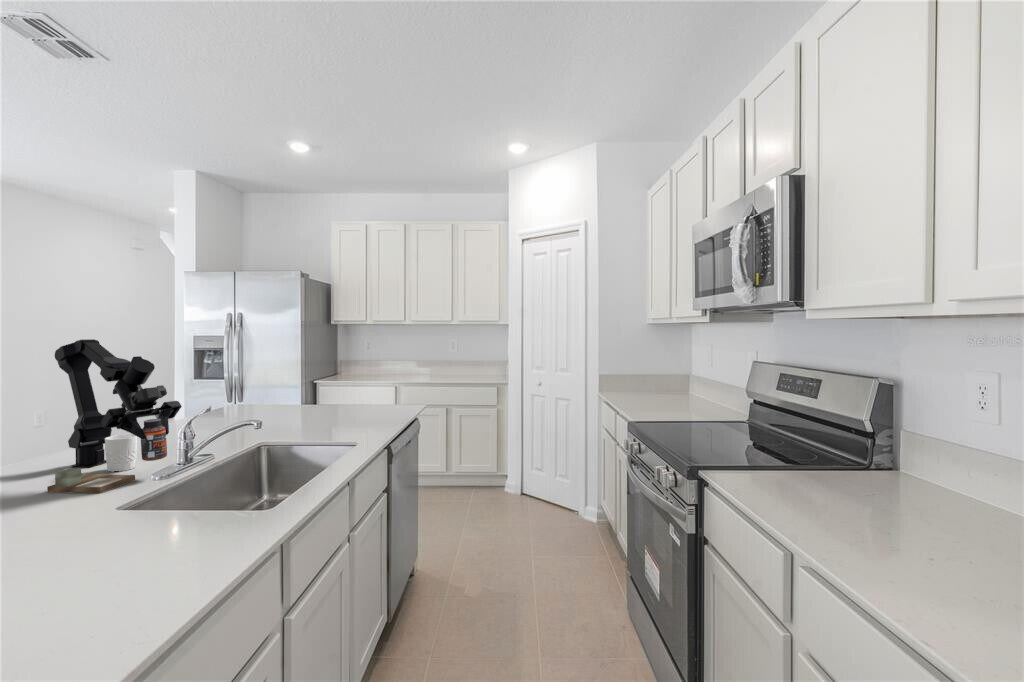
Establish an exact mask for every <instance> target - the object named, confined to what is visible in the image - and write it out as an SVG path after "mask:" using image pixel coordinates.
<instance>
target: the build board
mask: <svg viewBox="0 0 1024 682" xmlns="http://www.w3.org/2000/svg"><path fill="white" fill-rule="evenodd" d="M134 481H136V474H104V473H103V474H100V473H99V474H98V473H96V474H93V473H91V474H89V473H85V474H82V468H72V467H71V468H65V469H62V470H57V471H55V472H54V484H51V485H48V486H47V491H46V492H47V493H59V492H87V493H86V494H103V493H104V492H106V491H109V490H112V488H113V489H115V488H118V487H121V486H123V485H126V484H128V483H131V482H134ZM120 485H121V486H120Z"/></svg>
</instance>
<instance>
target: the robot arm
mask: <svg viewBox="0 0 1024 682" xmlns="http://www.w3.org/2000/svg"><path fill="white" fill-rule="evenodd" d="M54 359H55V361H57V365H58V367H59V369H61V370H62V371H64V372H65V373H66V374H67V375H68V379H69V384H70V387H71V390H72V395H73V396H72V397H73V400H74V403H75V408H76V412H77V416H78V418H77V419H76V421H75V423H74V425H73V433H72V434H71V436H70V437H69V438H68V440H67V443H68V447H69V448H71V449H75V463H74V464H71V465H70V467H71V466H75V467H74V468H78V467H79V468H91V467H95V465H96V466H99V465H102V464H104V462H105V463H107V462H106V459H105V448H104V445H105V438H106V437H110V436H112V429H113V428H116V429H117V430H123V431H125V432H127V433H128V434H133V435H135V436H137V437H138V438H139V439H140V440H141V439H144V438H145V434H144V432H143V430H142V429H143V428H142V427H141V425H140V423H139V422H138V419H139V418H146V417H152V416H154V417H156V418H155V419H161V425H162V426H164V427H165V429H166V436H167V435H168V434H169V433H170V432H169V431H170V430H169V429H170V427H169V426H170V425H169V420H170V419H174V418H175V417H176V416H177V414H178V413H179V411H180V410H181V408H182V404H181V402H180V401H179V400H170V401H163V403H162V404H161V406H160V407H154V406H156V405H157V404H158V402H157V400H159V399H162V398H163V397H165V396H167V394H168V391H167V388H166V387H165V386H164V385H157V386H153V387H145V388H143V386H142V385H144V384H145V383H147V381H148V380H149V378H150V377H151V375H152V373H153V372H154V370H155V369H156V368H155V364H154V363H153V362H152V361H149V360H148V359H145V358H143V357H142V356H138V355H137V356H132V358H131V361H130V360H128V359H125V358H120V357H117V356H115V355H114V354H113V353H112V352H110V351H109V350H108V349H107V348H105V347H104V346H102V345H101V344H100V341H99V340H97V339H92V338H91V339H79V340H75V342H72V343H68V344H63V345H61V346H59V348H57V349H55V351H54ZM92 363H93V364H95V365H96V366H97V367H98V368H99V369H100V372H99V375H100V376H101V378H103V379H104V381H106V382H108V383H109V382H110V383H111V382H116V383H115V385H114V388H113V390H112V395H117V394H118V396H119V398H120V401H121V402H122V403H121V405H120V406H121V407H115V408H108V409H107V411H106V413H105V414H103V413H101V412H99V409H98V408H99V407H98V406H97V405H98V404H97V401H96V397H95V393H94V389H93V385H92V382H91V376H90V372H89V368H90V367H91V365H92ZM101 463H102V464H101ZM98 464H99V465H98Z"/></svg>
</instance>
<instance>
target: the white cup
mask: <svg viewBox="0 0 1024 682" xmlns="http://www.w3.org/2000/svg"><path fill="white" fill-rule="evenodd" d="M138 438H139V437H137V436H135V435H133V434H132V433H125V434H116V435H111V436H110V437H106V438H105V444H104V453H105V460H106V462H105V463H106V469H107V470H108V471H107V470H106V471H107V472H109V471H112V472H111V473H114V471H119V472H124V471H125V470H126V471H129V470H132V469H135V468H136V467H137V455H138V454H137V453H138Z"/></svg>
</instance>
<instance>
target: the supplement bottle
mask: <svg viewBox="0 0 1024 682" xmlns="http://www.w3.org/2000/svg"><path fill="white" fill-rule="evenodd" d="M142 430H143V432H144V434H145V438H144V439H141V438H140V451H141V459H142V460H143V461H146V462H153V461H158V460H162V459H164V458H166V457H168V456H167V455H168V446H167V445H168V444H167V435H166V429H165V427H164V426H162V425H161V419H157V418H152V419H146V420H144V421H143V428H142Z"/></svg>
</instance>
